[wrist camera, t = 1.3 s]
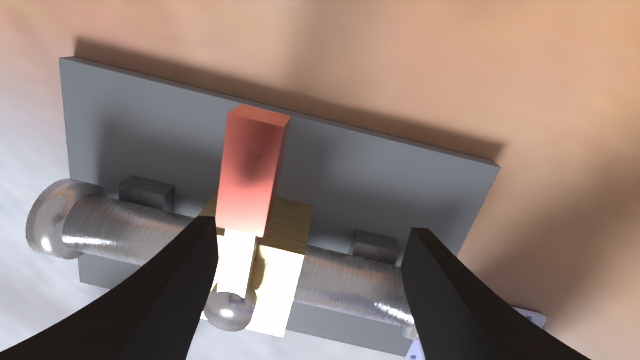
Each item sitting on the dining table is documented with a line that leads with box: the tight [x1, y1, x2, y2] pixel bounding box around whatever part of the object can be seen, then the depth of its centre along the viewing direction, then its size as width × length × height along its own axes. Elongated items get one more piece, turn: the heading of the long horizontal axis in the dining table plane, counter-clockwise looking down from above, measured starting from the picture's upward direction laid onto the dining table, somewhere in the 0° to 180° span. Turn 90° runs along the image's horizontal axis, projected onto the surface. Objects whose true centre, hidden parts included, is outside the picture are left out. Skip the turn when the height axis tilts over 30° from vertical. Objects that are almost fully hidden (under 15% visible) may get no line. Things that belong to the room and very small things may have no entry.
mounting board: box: [59, 56, 501, 357], centre depth 25 cm, size 28×18×1 cm, turn 77°
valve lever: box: [203, 104, 291, 331], centre depth 16 cm, size 12×3×2 cm, turn 167°
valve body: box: [26, 175, 420, 341], centre depth 21 cm, size 25×6×6 cm, turn 77°
